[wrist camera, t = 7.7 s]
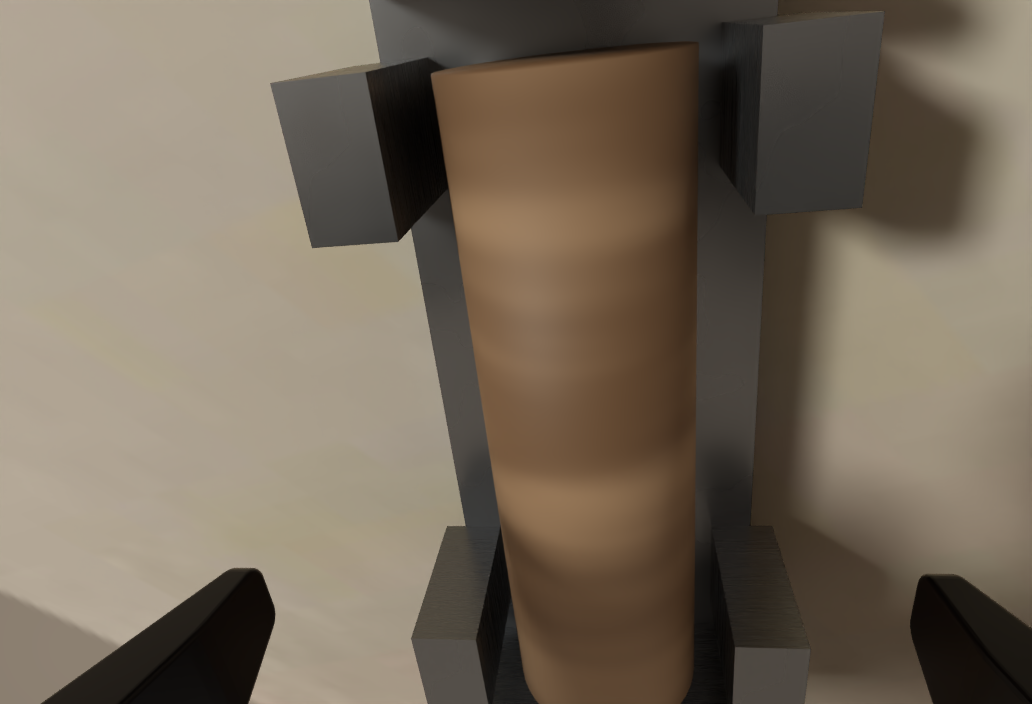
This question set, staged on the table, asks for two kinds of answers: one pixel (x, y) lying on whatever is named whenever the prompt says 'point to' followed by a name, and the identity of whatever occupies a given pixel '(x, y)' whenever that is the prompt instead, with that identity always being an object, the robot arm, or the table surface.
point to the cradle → (720, 282)
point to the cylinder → (586, 351)
